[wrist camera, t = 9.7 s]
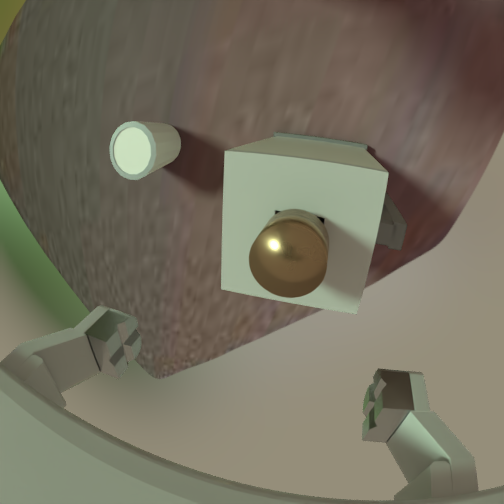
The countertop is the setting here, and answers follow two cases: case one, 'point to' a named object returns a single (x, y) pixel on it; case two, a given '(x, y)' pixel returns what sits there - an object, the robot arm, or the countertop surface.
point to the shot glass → (143, 148)
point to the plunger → (290, 254)
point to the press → (314, 201)
